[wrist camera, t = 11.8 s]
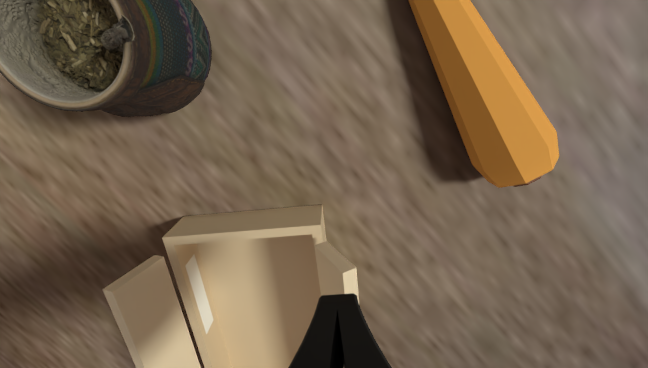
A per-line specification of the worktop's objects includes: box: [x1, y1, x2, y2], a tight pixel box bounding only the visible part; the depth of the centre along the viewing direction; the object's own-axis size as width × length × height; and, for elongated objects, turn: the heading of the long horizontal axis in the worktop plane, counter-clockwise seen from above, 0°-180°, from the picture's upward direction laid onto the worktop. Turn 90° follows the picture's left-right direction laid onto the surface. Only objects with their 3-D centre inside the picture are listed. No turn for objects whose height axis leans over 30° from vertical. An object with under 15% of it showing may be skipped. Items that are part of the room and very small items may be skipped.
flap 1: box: [102, 255, 201, 368], centre depth 20 cm, size 3×15×1 cm
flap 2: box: [314, 241, 359, 368], centre depth 19 cm, size 3×15×1 cm
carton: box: [162, 205, 326, 368], centre depth 23 cm, size 10×16×3 cm, turn 6°
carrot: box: [408, 0, 559, 188], centre depth 16 cm, size 20×4×4 cm, turn 33°
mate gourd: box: [0, 0, 212, 117], centre depth 13 cm, size 7×8×10 cm
